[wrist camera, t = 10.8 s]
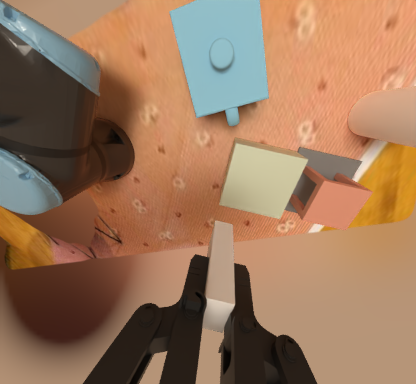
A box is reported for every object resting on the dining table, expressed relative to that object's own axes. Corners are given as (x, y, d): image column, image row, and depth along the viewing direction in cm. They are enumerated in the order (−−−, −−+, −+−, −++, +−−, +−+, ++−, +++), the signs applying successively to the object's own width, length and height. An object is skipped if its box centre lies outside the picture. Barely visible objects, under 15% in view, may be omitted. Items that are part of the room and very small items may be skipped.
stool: (302, 220, 36) (345, 230, 35) (324, 180, 31) (373, 192, 31) (288, 198, 44) (323, 206, 44) (304, 165, 40) (342, 174, 40)
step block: (220, 191, 46) (219, 204, 39) (234, 137, 39) (236, 143, 33) (272, 203, 45) (279, 219, 39) (295, 151, 39) (308, 159, 33)
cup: (384, 135, 36) (487, 154, 22) (342, 136, 37) (413, 154, 22) (403, 89, 32) (541, 75, 18) (355, 91, 33) (450, 79, 19)
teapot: (259, 115, 37) (273, 118, 24) (208, 128, 39) (199, 137, 27) (242, -30, 28) (251, -137, 16) (178, -2, 30) (143, -77, 18)
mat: (273, 206, 46) (273, 207, 46) (299, 147, 39) (299, 147, 38) (325, 218, 46) (325, 219, 45) (361, 161, 38) (362, 161, 38)
